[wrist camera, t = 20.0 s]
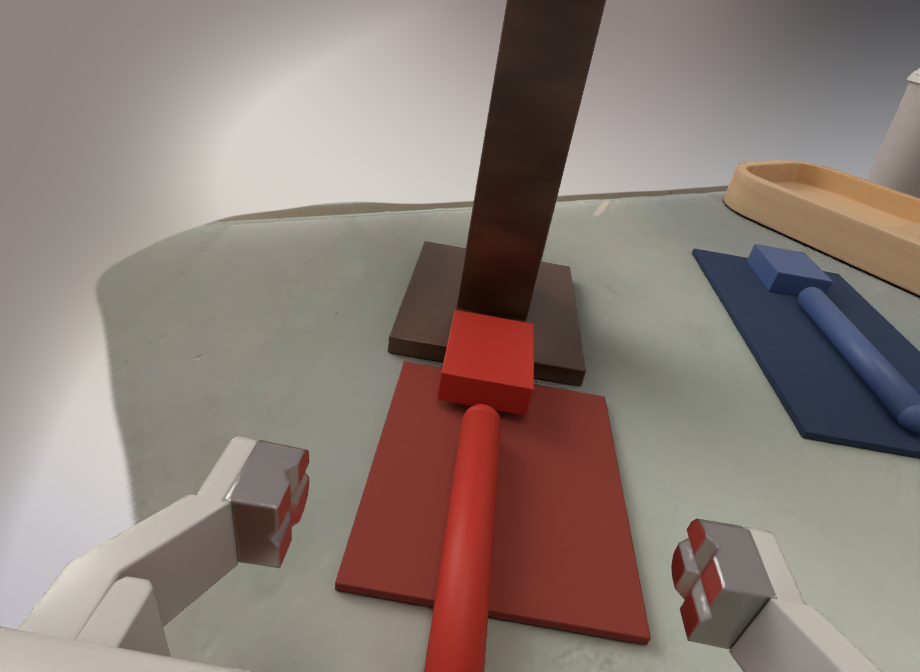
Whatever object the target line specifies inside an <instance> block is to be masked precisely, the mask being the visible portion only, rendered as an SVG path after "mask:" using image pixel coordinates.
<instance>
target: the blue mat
mask: <svg viewBox="0 0 920 672" xmlns="http://www.w3.org/2000/svg"><path fill="white" fill-rule="evenodd" d="M692 253H693V255H694V257H695V258H696V260H697V262H698V263H699V265H700V267H701V268H702V270H703V272H704V273H705V275H706V277H707V278H708V280H709V282H710V283H711V285H712V287H713V288H714V290H715V292H716V293H717V295H718V297H719V298H720V300H721V302H722V303H723V305H724V307H725V308H726V310H727V312H728V313H729V315H730V317H731V318H732V320H733V322H734V323H735V325H736V327H737V328H738V330H739V332H740V333H741V335H742V337H743V338H744V340H745V342H746V343H747V345H748V347H749V348H750V350H751V352H752V353H753V355H754V357H755V358H756V360H757V362H758V363H759V365H760V367H761V368H762V370H763V372H764V373H765V375H766V377H767V378H768V380H769V382H770V383H771V385H772V387H773V388H774V390H775V392H776V393H777V395H778V397H779V398H780V400H781V402H782V403H783V405H784V407H785V408H786V410H787V412H788V413H789V415H790V417H791V418H792V420H793V422H794V423H795V425H796V427H797V428H798V430H799V432H800V433H801V435H802V437H804V438H809V439H815V440H821V441H826V442H832V443H838V444H844V445H849V446H855V447H861V448H866V449H872V450H878V451H883V452H889V453H895V454H900V455H906V456H912V457H917V458H920V433H917V432H911V431H908V430H906V429H904V428H903V427H901V426H900V425H899V424H898V422H897V421H896V420H895V419H894V418H893V416H892V415H891V414H890V413H889V411H888V410H887V409H886V408H885V407H884V405H883V404H882V403H881V402H880V401H879V399H878V398H877V397H876V396H875V395H874V393H873V392H872V391H871V390H870V389H869V387H868V386H867V385H866V384H865V383H864V381H863V380H862V379H861V378H860V377H859V375H858V374H857V373H856V372H855V371H854V369H853V368H852V367H851V366H850V365H849V363H848V362H847V361H846V360H845V359H844V357H843V356H842V355H841V354H840V353H839V351H838V350H837V349H836V348H835V347H834V345H833V344H832V343H831V342H830V341H829V339H828V338H827V337H826V336H825V335H824V333H823V332H822V331H821V330H820V329H819V327H818V326H817V325H816V324H815V323H814V321H813V320H812V319H811V318H810V316H809V315H808V314H807V313H806V312H805V310H804V309H803V308H802V307H801V306H800V304H799V302H798V296H794V295H788V294H782V293H777V292H771V291H768V289H767V288H766V287H765V286H764V284H763V283H762V282H761V280H760V279H759V278H758V276H757V275H756V274H755V273H754V271H753V270H752V269H751V267H750V266H749V265H748V263H747V259H748V258H745V257H739V256H734V255H728V254H722V253H716V252H711V251H705V250H699V249H693V251H692ZM823 272H824V273H825V274H826V275H827V276H828V277H829V278H830V279H831V280H832V281H833V283H832V285H831V287H830V288H829V290H828V292H827V293H826V296H827V297H828V298H829V299H830V300H831V301H832V302H833V303H834V304H835V305H836V306H837V307H838V308H839V310H840V311H841V312H842V313H843V314H844V315H845V316H846V317H847V318H848V319H849V320H850V321H851V322H852V323H853V324H854V326H855V327H856V328H857V329H858V330H859V331H860V332H861V333H862V334H863V335H864V336H865V337H866V338H867V339H868V340H869V341H870V343H871V344H872V345H873V346H874V347H875V348H876V349H877V350H878V351H879V352H880V353H881V354H882V355H883V356H884V357H885V359H886V360H887V361H888V362H889V363H890V364H891V365H892V366H893V367H894V368H895V369H896V370H897V371H898V372H899V373H900V375H901V376H902V377H903V378H904V379H905V380H906V381H907V382H908V383H909V384H910V385H911V386H912V387H913V388H914V389H915V391H916V392H917V393H918V394H919V395H920V352H919V351H918V350H917V349H916V348H915V347H914V346H913V345H912V344H911V343H910V342H909V341H908V340H907V339H906V338H905V337H904V336H903V335H902V334H901V333H899V332H898V331H897V330H896V329H895V328H894V327H893V326H892V325H891V324H890V323H889V322H888V321H887V320H886V319H885V318H884V317H883V316H882V315H881V314H880V313H879V312H878V311H876V310H875V309H874V308H873V307H872V306H871V305H870V304H869V303H868V302H867V301H866V300H865V299H864V298H863V297H862V296H861V295H860V294H859V293H858V292H857V291H856V290H855V289H853V288H852V287H851V286H850V285H849V284H848V283H847V282H846V281H845V280H844V279H843V278H842V277H841V276H840V275H839V274H836V273H830V272H825V271H823Z"/></svg>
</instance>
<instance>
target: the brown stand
mask: <svg viewBox="0 0 920 672" xmlns="http://www.w3.org/2000/svg"><path fill="white" fill-rule="evenodd" d="M605 3H606V0H507V3H506V10H505V16H504V22H503V27H502V34H501V40H500V46H499V52H498V58H497V64H496V70H495V76H494V83H493V88H492V95H491V101H490V106H489V113H488V118H487V125H486V131H485V137H484V143H483V149H482V155H481V161H480V167H479V173H478V179H477V185H476V191H475V197H474V203H473V209H472V216H471V222H470V228H469V234H468V240H467V246H466V248H460V247H455V246H449V245H443V244H438V243H432V242H426V241H425V242H424V245H423V248H422V250H421V253H420V256H419V258H418V261H417V264H416V266H415V269H414V272H413V274H412V277H411V280H410V282H409V285H408V288H407V290H406V293H405V296H404V298H403V301H402V304H401V307H400V309H399V312H398V315H397V317H396V320H395V323H394V325H393V328H392V331H391V333H390V336H389V345H388V352H391V353H396V354H402V355H408V356H413V357H419V358H425V359H430V360H436V361H442V362H444V358H445V353H446V348H447V344H448V339H449V334H450V330H451V325H452V320H453V316H454V311H455V310H459V311H464V312H470V313H476V314H481V315H487V316H492V317H498V318H504V319H509V320H515V321H520V322H526V323H532V324H534V378H538V379H544V380H550V381H555V382H561V383H567V384H572V385H578V386H581V385H582V382H583V379H584V376H585V373H586V368H585V362H584V355H583V349H582V342H581V336H580V330H579V323H578V317H577V310H576V304H575V297H574V291H573V284H572V278H571V271H570V267H569V266H563V265H557V264H551V263H546V262H541V260H542V256H543V252H544V248H545V244H546V240H547V236H548V232H549V228H550V224H551V220H552V216H553V212H554V208H555V204H556V200H557V196H558V191H559V188H560V184H561V179H562V175H563V171H564V167H565V163H566V159H567V155H568V151H569V147H570V143H571V139H572V135H573V131H574V127H575V123H576V119H577V115H578V111H579V107H580V103H581V99H582V95H583V91H584V87H585V82H586V79H587V74H588V71H589V67H590V63H591V59H592V55H593V51H594V47H595V43H596V39H597V35H598V31H599V26H600V23H601V19H602V14H603V11H604V7H605Z"/></svg>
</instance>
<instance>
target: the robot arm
mask: <svg viewBox="0 0 920 672" xmlns="http://www.w3.org/2000/svg"><path fill="white" fill-rule="evenodd" d="M308 464H309V451H308V450H306V449H301V448H296V447H291V446H287V445H282V444H277V443H272V442H267V441H262V440H255V439H250V438H245V437H240V436H236V437H235V438H234V439H232V440H231V441H230V442H229V444H228V446H227V447H226V449H225V450H224V452H223V453H222V455H221V457H220V458H219V460H218V461H217V463H216V465H215V466H214V468H213V469H212V471H211V472H210V474H209V476H208V477H207V479H206V480H205V482H204V483H203V485H202V487H201V488H200V490H199V491H198V493H197V495H196V496H195V495H187V496H185V497H183V498H182V499H180V500H178V501H176V502H175V503H173V504H171V505H169V506H168V507H166V508H164V509H162V510H161V511H159V512H157V513H155V514H154V515H152V516H150V517H148V518H147V519H145V520H143V521H141V522H139V523H138V524H136V525H134V526H132V527H131V528H129V529H127V530H125V531H124V532H122V533H120V534H118V535H117V536H115V537H113V538H112V539H110V540H108V541H106V542H104V543H103V544H101V545H99V546H97V547H96V548H94V549H92V550H90V551H89V552H87V553H85V554H84V555H82V556H80V557H78V558H76V559H75V560H73V561H71V562H69V563H68V564H67V565H66V567H65V568H64V569H63V570H62V572H61V573H60V574H59V576H58V577H57V578H56V579H55V581H54V582H53V583H52V585H51V586H50V587H49V588H48V590H47V591H46V592H45V594H44V595H43V596H42V597H41V599H40V600H39V601H38V603H37V604H36V605H35V606H34V608H33V609H32V610H31V611H30V613H29V614H28V615H27V617H26V618H25V619H24V620H23V622H22V623H21V624H20V626H19V627H18V629H11V628H6V627H0V672H253V671H247V670H241V669H236V668H230V667H224V666H219V665H213V664H207V663H202V662H196V661H191V660H185V659H179V658H174V657H171V656H170V652H169V648H168V644H167V640H166V637H165V633H164V629H163V627H164V626H165V625H166V624H167V623H168V622H170V621H171V620H172V619H173V618H174V617H176V616H177V615H178V614H179V613H180V612H182V611H183V610H184V609H185V608H186V607H188V606H189V605H190V604H191V603H192V602H194V601H195V600H196V599H197V598H198V597H200V596H201V595H202V594H203V593H204V592H205V591H207V590H208V589H209V588H210V587H211V586H213V585H214V584H215V583H216V582H217V581H219V580H220V579H221V578H222V577H223V576H225V575H226V574H227V573H228V572H229V571H231V570H232V569H233V568H234V567H235V566H237V565H238V562H242V563H249V564H256V565H262V566H269V567H276V568H280V567H281V564H282V562H283V560H284V557H285V555H286V552H287V550H288V548H289V545H290V543H291V541H292V526H294V525H295V524H297V523H298V522H299V521H300V518H301V516H302V513H303V511H304V508H305V504H306V500H307V496H308V489H309V476H308V475H307V474H306V473H305V471H306V469H307V466H308ZM687 532H688V536H689V538H688V539H686V540H684V541H682V542H680V543H679V544H678V546H677V548H676V550H675V552H674V554H673V560H672V578H673V583H674V587H675V589H676V590H677V592H678V593H679V594H680V595H681V596H682V597H683V599H684V600H685V601H684V602H683V604H682V606H681V608H680V612H681V616H682V620H683V624H684V628H685V632H686V635H687V639H688V641H691V642H696V643H701V644H706V645H711V646H716V647H720V648H725V649H730V651H729V652H730V654H731V655H732V656H733V658H734V659H735V660H736V662H737V663H738V665H739V666H740V667H741V669H742V670H743V671H744V672H882V671H881V670H880V669H879V668H878V667H877V666H876V665H875V664H873V663H872V662H871V661H870V660H869V659H868V658H867V657H866V656H865V655H864V654H863V653H862V652H861V651H860V650H859V649H858V648H857V647H856V646H855V645H854V644H853V643H851V642H850V641H849V640H848V639H847V638H846V637H845V636H844V635H843V634H842V633H841V632H840V631H839V630H838V629H837V628H836V627H835V626H834V625H833V624H832V623H831V622H829V621H828V620H827V619H826V618H825V617H824V616H823V615H822V614H821V613H820V612H819V611H818V610H817V609H816V608H815V607H814V606H812V605H807V604H805V602H804V600H803V597H802V595H801V593H800V591H799V589H798V586H797V584H796V582H795V580H794V578H793V575H792V573H791V571H790V569H789V567H788V564H787V562H786V560H785V558H784V556H783V553H782V551H781V549H780V547H779V545H778V542H777V540H776V538H775V536H774V535H773V534H772V533H771V532H770V531H767V530H761V529H755V528H749V527H742V526H739V525H733V524H727V523H721V522H715V521H709V520H703V519H695V520H694V521H692V522H691V523H690V525H689V527H688V528H687Z"/></svg>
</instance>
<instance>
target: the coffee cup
mask: <svg viewBox="0 0 920 672" xmlns="http://www.w3.org/2000/svg"><path fill="white" fill-rule="evenodd" d="M907 80H909V81H910V82H909V85H908V87H907V89H906V92H905V94H904V96H903V99H902V101H901V103H900V105H899V108H898V110H897V112H896V115H895V117H894V119H893V121H892V124H891V126H890V128H889V130H888V133H887V135H886V137H885V140H884V142H883V144H882V146H881V148H880V151H879V153H878V155H877V157H876V160H875V162H874V164H873V166H872V168H871V171H870V173H869V175H868V177H867V180H868V181H871V182H873V183H876V184H879V185H882V186H885V187H888V188H891V189H894V190H897V191H899V192H902V193H905V194H908V195H911V196H914V197H917V198H920V68H919V69H918V70H917V71H914V72H913V74H911V75H910V76H909V77H908V78H907Z"/></svg>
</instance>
